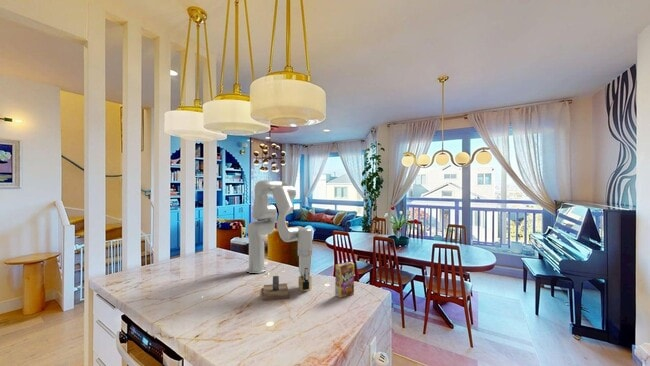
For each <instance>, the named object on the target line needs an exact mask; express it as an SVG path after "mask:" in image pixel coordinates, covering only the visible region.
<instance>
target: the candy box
mask: <svg viewBox="0 0 650 366" xmlns="http://www.w3.org/2000/svg"><path fill="white" fill-rule="evenodd" d="M334 283H335V287H334V295H335V297H338V298H339V299H341V298H344V297H348V296H351V295H354V294H355V263H354V262H351V261H347V262H341V263H336V264H335V282H334Z"/></svg>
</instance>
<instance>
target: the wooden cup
mask: <svg viewBox="0 0 650 366" xmlns="http://www.w3.org/2000/svg"><path fill="white" fill-rule="evenodd" d="M297 278H298V284H297V285H298V291H300V292H308V291H311V290H312V284H313V283H312V278H313V277H312V276H311V275H309V289H307V290H303V276H300V275H298V277H297ZM304 278H305V277H304Z"/></svg>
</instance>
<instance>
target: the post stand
mask: <svg viewBox="0 0 650 366" xmlns="http://www.w3.org/2000/svg"><path fill="white" fill-rule="evenodd" d="M262 292H263V294H262V301H271V300H272V301H273V300H284V299H290V294H289V288H288V283H286V282H285V283H283V282H282V283H280V276H279V275H273V276H272V283H271V284H264V285H263V291H262Z"/></svg>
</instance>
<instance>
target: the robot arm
mask: <svg viewBox="0 0 650 366" xmlns="http://www.w3.org/2000/svg"><path fill="white" fill-rule="evenodd" d="M253 190H254V192H253V193H254V199H253V204H252V205H253V208H252V213H251V214H252V218H253V219H254V221H251V222H249V223H248V225H247V227H246V229H247V236H248V268H246V270H245V272H246V271H247V272H249V273H259V274H262V273H261V272H263V273H265V272H267V271H268V268H267V267H265V241H264V239H263V238H262V236H266V235H267V236H268V235H271V234H272V233H273V232H274V230H275V226H276V230H277V232H278V234H279V237H280V239H281V240H282V241H283V242H284V243H291V242H295V241H297V256H298V274H299V276H303V290H307V289H309V276H311V256H312V255H313V229H312V228H308V227H303V226H300V225H298V226H289V227H288V225H287V222H286V217H287V216H288V215H289V214H290V213H293V211H294V209H295V207H294V205H293V202H292V200H293V199H294V200H295V198H296V196H297V191H296V188H295V187H294V186H293V185H292V184H289V183H286V182H285V181H281V180H269V179H268V180H263V179H262V180H260V181H257V182H256V183H255V185H254V189H253ZM268 195H272V197H273V200H274V201H275V204H276V206H275V205H274V204H271V203H269V196H268ZM277 209H278V212H277ZM278 213H279V214H278ZM277 214H278V215H277ZM264 271H265V272H264ZM247 272H246V273H247ZM249 273H248V274H249ZM304 277H305V278H304Z"/></svg>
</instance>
